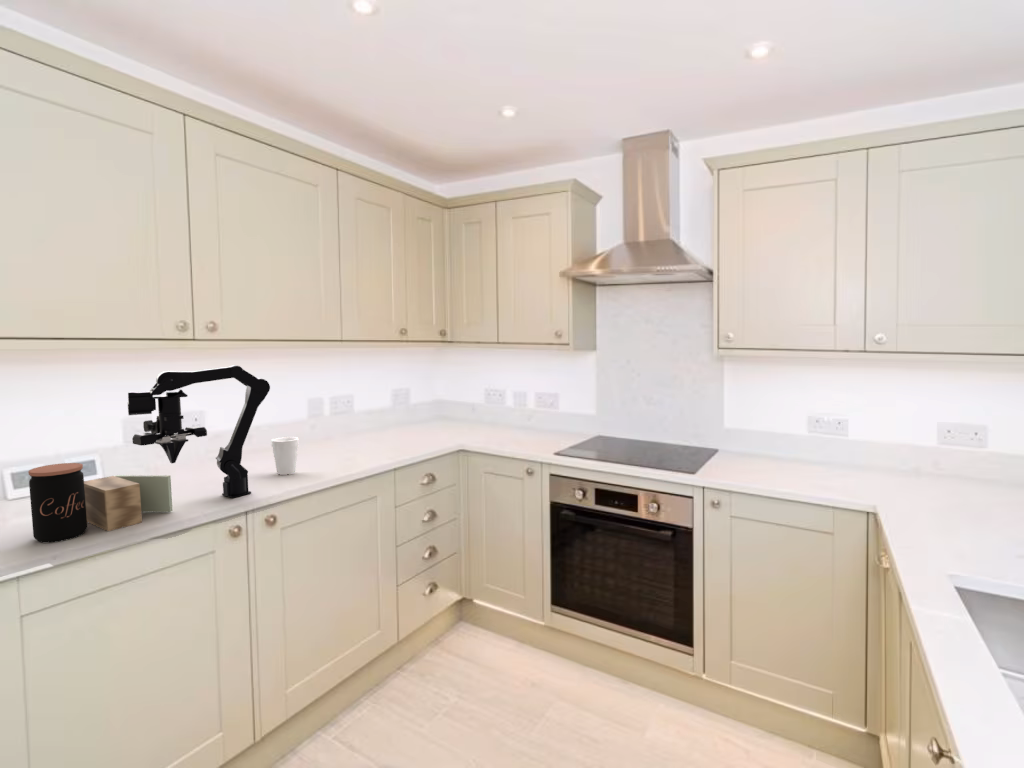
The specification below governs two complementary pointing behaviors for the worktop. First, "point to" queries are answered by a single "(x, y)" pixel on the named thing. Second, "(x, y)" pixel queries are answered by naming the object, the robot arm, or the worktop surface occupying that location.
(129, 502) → the cabinet
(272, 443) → the foam cup
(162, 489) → the door
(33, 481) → the coffee jar
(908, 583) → the worktop surface
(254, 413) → the robot arm
